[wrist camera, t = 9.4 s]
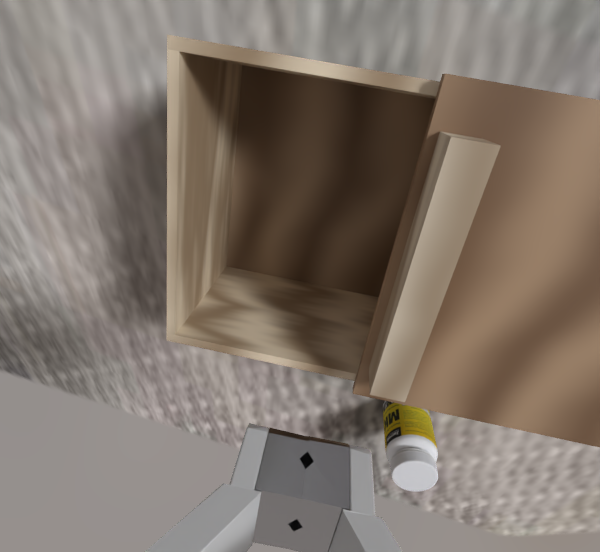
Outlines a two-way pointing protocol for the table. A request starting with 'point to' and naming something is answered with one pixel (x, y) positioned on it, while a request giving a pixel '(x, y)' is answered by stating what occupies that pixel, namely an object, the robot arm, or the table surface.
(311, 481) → the robot arm
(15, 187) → the table surface
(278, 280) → the box
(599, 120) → the lid
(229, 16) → the table surface
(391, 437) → the supplement bottle
